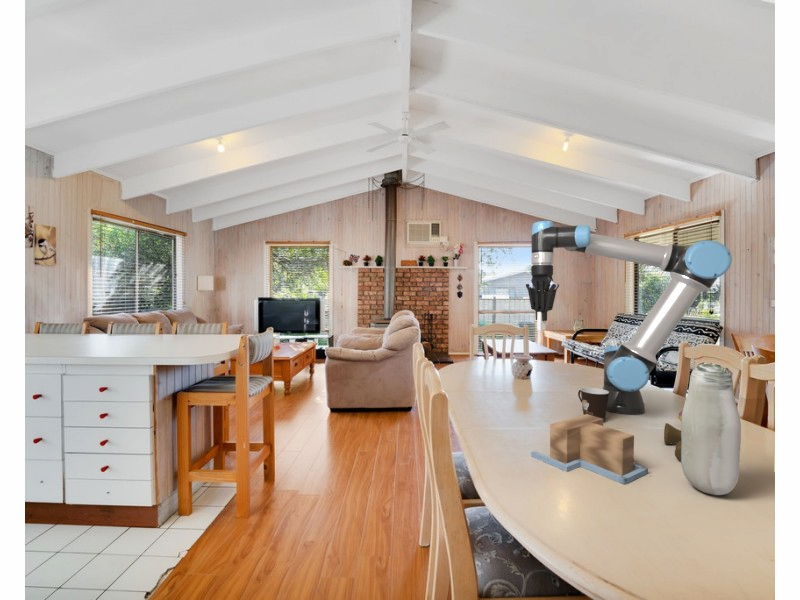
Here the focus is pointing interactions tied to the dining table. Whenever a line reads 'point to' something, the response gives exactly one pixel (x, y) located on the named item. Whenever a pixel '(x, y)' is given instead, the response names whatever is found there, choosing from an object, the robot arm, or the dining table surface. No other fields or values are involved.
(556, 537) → the dining table surface
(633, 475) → the t outline
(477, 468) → the dining table surface
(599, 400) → the coffee mug
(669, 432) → the kendama
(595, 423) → the t block
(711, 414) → the glass bottle
